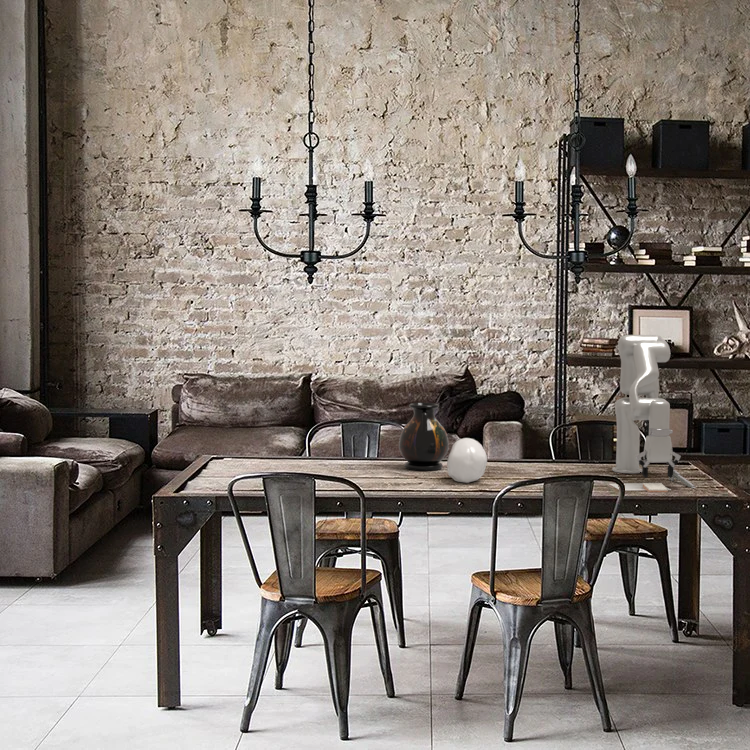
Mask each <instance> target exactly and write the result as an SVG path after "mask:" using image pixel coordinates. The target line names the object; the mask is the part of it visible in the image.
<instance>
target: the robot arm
mask: <svg viewBox="0 0 750 750" xmlns="http://www.w3.org/2000/svg"><path fill="white" fill-rule="evenodd" d="M617 349H618V350H617V351H618V354H619V357H620V377H619V389H620V392H621V393H622V394H624V395H628V396H629V397H628V396H627V397H622V398H619V399H617V400H616V402H615V405H614V411H615V417H616V419H615V420H616V453H615V454H616V455H615V456H616V457H615V466H613V467H612V471H613V472H614V473H622V474H642V476H643V477H644V478H646V479H647V478H648V477H649V468H648V466H649V465H650V464H651V463H656V464H657V463H658V464H659V463H664V464H665V463H666V464H668V466H667V477H668V478H669V477H670V478H672V475H673V467H674V468H675V466H676V465H677V464H678V462H679V461H680V459H681V457H682V456H681V455H680V454H678V453H677V452H675V451H673V443H672V438H671V436H670V434H673V432H674V430H673V429H671V428H670V415H671V414H670V412H671V411H670V410H671V407H670V406H671V405H670V402H669V401H667V400H666V399H665V398H661V397H659V393H660V392H659V389H660V381H659V377H660V371H659V366H658V363H667V362H669V361H670V358H671V349H670V345H669V344H668V342H667V340H665V339H664V338H663V337H662V336H660V335H658V334H626V335H622V336H621V337H620V338H619V339H618V343H617ZM639 396H645V397H639ZM635 421H648V422H649V423H648V435H646V437H645V441H644V446H643V447H644V448H643V451H642V452H640V443H641V442H640V437H641V431H640V428H639V427H638V425H637V424H636V423H635ZM673 456H674V459H673ZM642 457H643V460H642ZM640 465H641V467H640ZM640 472H641V473H640Z"/></svg>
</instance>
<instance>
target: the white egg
mask: <svg viewBox="0 0 750 750" xmlns="http://www.w3.org/2000/svg"><path fill="white" fill-rule="evenodd" d="M487 463H488V456H487V453H486V451H485V449H484V447H483V445H482V444H481V443H480V442H479V441H478V440H476V439H475V438H470V437H463V438H459V439H458V440H457V441H455V442H454V443H453V444H452V445H451V449H450V452H449V454H448V457H447V462H446V465H447V469H446V470H447V474H448V476H449V477H450V478H452V479H453V480H454V481H455V482H457V483H466V484H469V483H472V482H473V483H474V482H475V481H478V480H479V479H481V478H482V477H483V476H484V474H485V472H486V468H487Z"/></svg>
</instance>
